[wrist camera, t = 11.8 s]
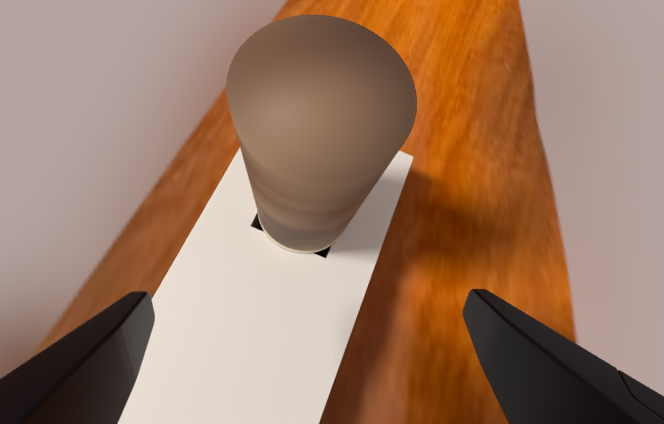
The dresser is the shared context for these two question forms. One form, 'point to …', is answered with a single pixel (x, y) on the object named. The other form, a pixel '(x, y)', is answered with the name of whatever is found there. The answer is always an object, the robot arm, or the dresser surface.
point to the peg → (317, 123)
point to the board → (256, 314)
